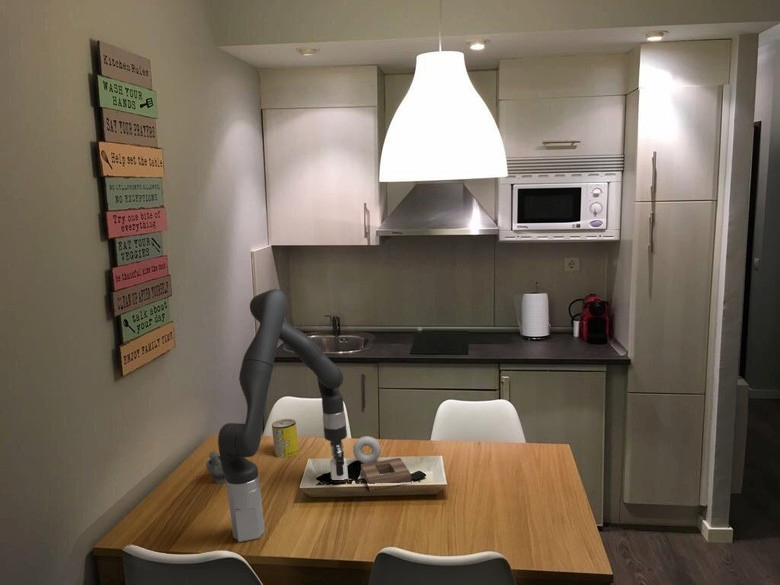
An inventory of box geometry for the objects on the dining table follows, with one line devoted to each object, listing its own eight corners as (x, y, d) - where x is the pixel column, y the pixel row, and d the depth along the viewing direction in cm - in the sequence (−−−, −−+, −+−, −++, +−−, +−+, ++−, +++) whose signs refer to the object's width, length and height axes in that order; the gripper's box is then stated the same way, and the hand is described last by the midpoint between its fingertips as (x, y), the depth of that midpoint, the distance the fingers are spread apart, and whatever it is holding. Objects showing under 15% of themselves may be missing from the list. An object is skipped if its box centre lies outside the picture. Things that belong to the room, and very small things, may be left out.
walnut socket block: (411, 483, 221) (410, 473, 221) (369, 491, 218) (369, 480, 218) (400, 467, 235) (400, 457, 234) (361, 473, 232) (360, 464, 231)
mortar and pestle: (215, 473, 242) (211, 441, 240) (240, 473, 240) (236, 441, 239) (202, 487, 231) (198, 454, 229) (228, 487, 229) (224, 453, 228)
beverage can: (279, 448, 260) (275, 419, 259) (301, 448, 259) (298, 418, 257) (271, 458, 252) (268, 427, 250) (295, 457, 250) (291, 427, 248)
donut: (382, 460, 242) (380, 433, 240) (382, 464, 238) (379, 437, 237) (354, 462, 242) (352, 435, 240) (353, 466, 239) (351, 439, 237)
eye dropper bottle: (345, 484, 224) (342, 450, 222) (329, 484, 226) (326, 450, 224) (350, 479, 228) (346, 445, 226) (334, 478, 230) (331, 444, 228)
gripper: (320, 419, 230) (325, 466, 232) (326, 432, 216) (331, 483, 219) (342, 415, 231) (346, 463, 234) (349, 429, 218) (354, 479, 220)
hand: (339, 472), depth 226 cm, fingers closed on eye dropper bottle, 3 cm apart
